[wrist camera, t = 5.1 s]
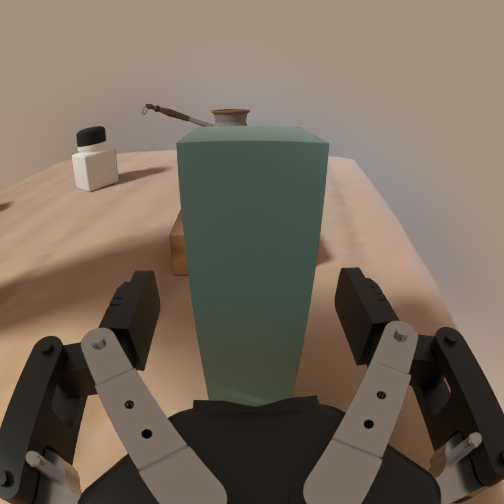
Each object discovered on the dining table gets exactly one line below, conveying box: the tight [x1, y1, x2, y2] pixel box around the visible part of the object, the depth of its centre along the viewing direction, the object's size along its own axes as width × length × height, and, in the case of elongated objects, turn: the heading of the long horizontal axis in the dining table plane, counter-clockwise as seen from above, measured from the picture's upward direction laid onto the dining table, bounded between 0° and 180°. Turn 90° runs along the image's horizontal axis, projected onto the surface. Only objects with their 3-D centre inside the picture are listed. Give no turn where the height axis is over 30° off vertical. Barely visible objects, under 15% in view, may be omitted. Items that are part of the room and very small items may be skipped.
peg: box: [176, 126, 329, 407], centre depth 12 cm, size 4×4×14 cm
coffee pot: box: [142, 104, 250, 127], centre depth 48 cm, size 21×12×15 cm, turn 88°
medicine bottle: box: [72, 126, 119, 192], centre depth 50 cm, size 7×7×12 cm
